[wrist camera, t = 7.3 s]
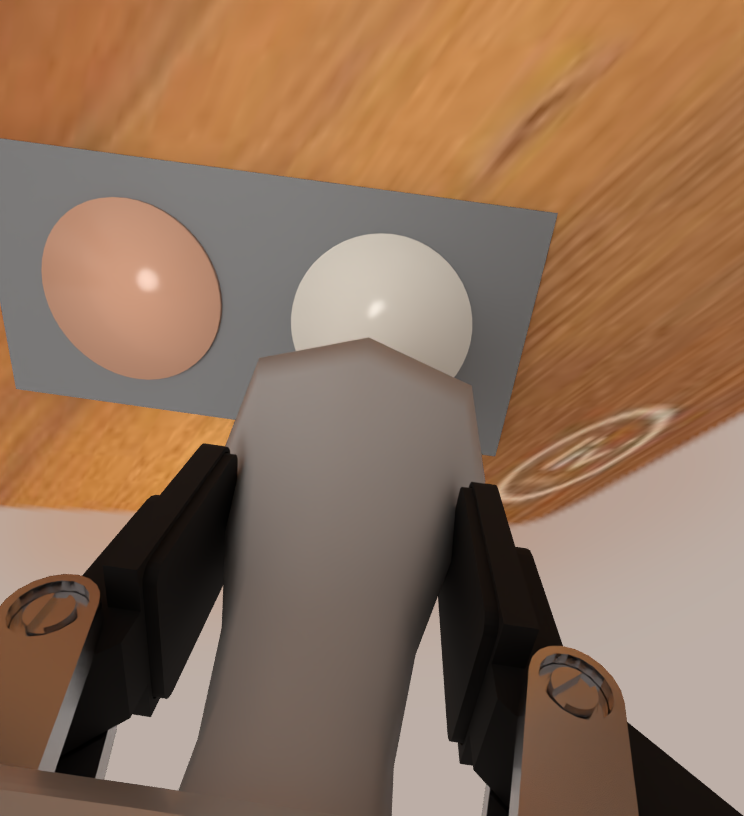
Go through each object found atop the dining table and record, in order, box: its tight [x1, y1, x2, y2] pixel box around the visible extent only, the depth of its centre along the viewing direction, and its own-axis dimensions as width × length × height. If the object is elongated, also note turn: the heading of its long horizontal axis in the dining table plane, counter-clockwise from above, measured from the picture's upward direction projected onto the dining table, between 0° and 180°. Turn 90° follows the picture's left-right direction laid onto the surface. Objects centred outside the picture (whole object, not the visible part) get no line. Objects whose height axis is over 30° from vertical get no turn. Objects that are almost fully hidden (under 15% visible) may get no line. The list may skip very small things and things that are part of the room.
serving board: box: [0, 138, 558, 456], centre depth 28 cm, size 30×14×1 cm, turn 83°
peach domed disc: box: [41, 197, 222, 380], centre depth 27 cm, size 10×10×1 cm
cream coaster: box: [291, 233, 472, 377], centre depth 27 cm, size 10×10×1 cm
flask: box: [179, 337, 485, 816], centre depth 9 cm, size 7×7×10 cm
